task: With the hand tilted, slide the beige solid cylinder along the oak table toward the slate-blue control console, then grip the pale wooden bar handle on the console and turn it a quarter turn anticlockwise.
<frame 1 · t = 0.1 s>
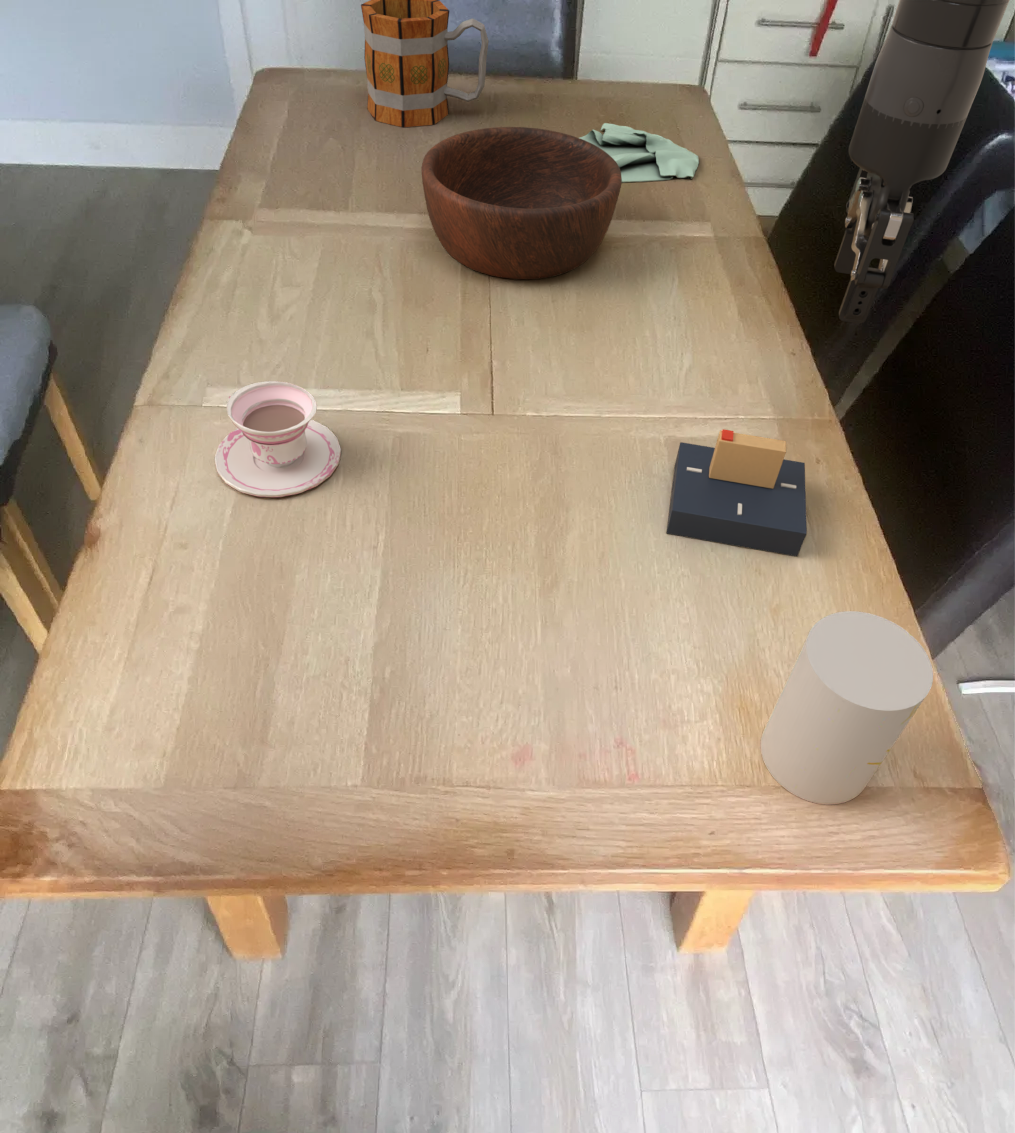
hand: (847, 295, 79), 18 cm above the table, tool pointing down, fingers open, 8 cm apart
beige solid cylinder: (814, 756, 68), on the table
wooden bowl: (517, 244, 120), on the table
cloth: (627, 155, 141), on the table
console: (733, 508, 86), on the table
mug: (426, 113, 149), on the table
teacup: (279, 459, 88), on the table
wooden handle: (747, 458, 83), point 5 cm above the table, hinge at 0.0°
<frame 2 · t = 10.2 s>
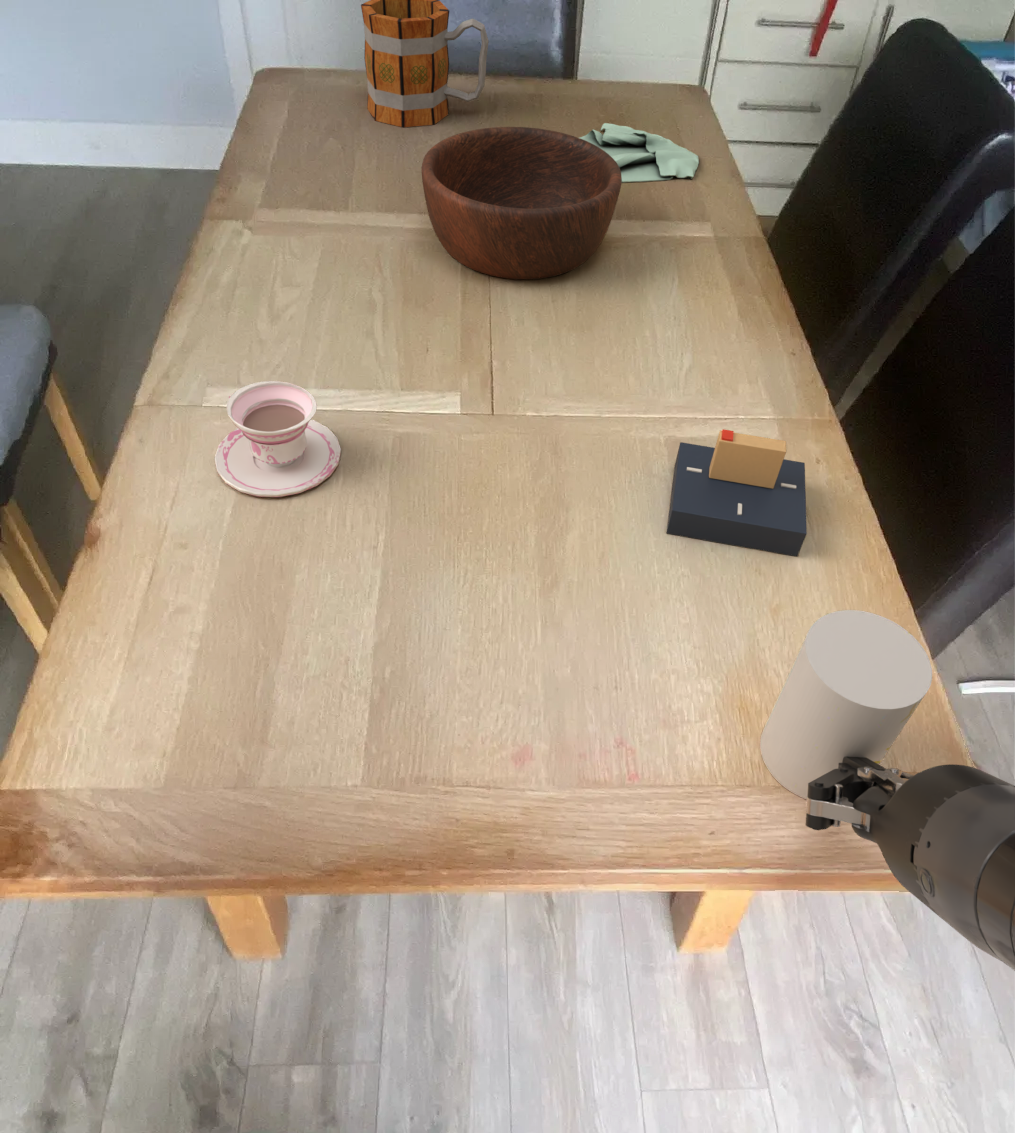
hand: (851, 771, 61), 5 cm above the table, tool tilted 45°, fingers closed
beige solid cylinder: (813, 755, 68), on the table, touching gripper
everything else where it was.
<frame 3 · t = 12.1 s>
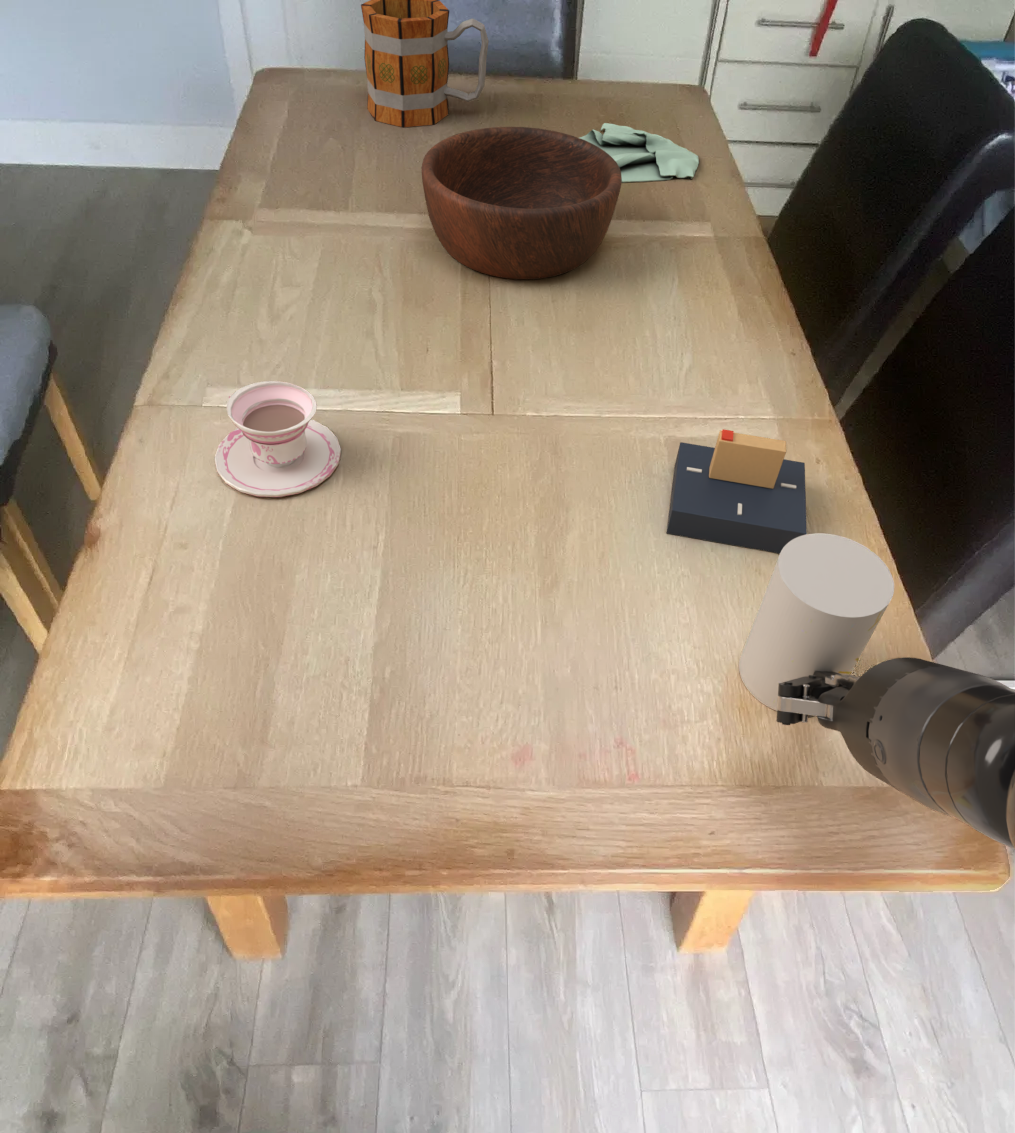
hand: (821, 685, 66), 5 cm above the table, tool tilted 45°, fingers closed
beige solid cylinder: (788, 675, 73), on the table, touching gripper
everything else where it was.
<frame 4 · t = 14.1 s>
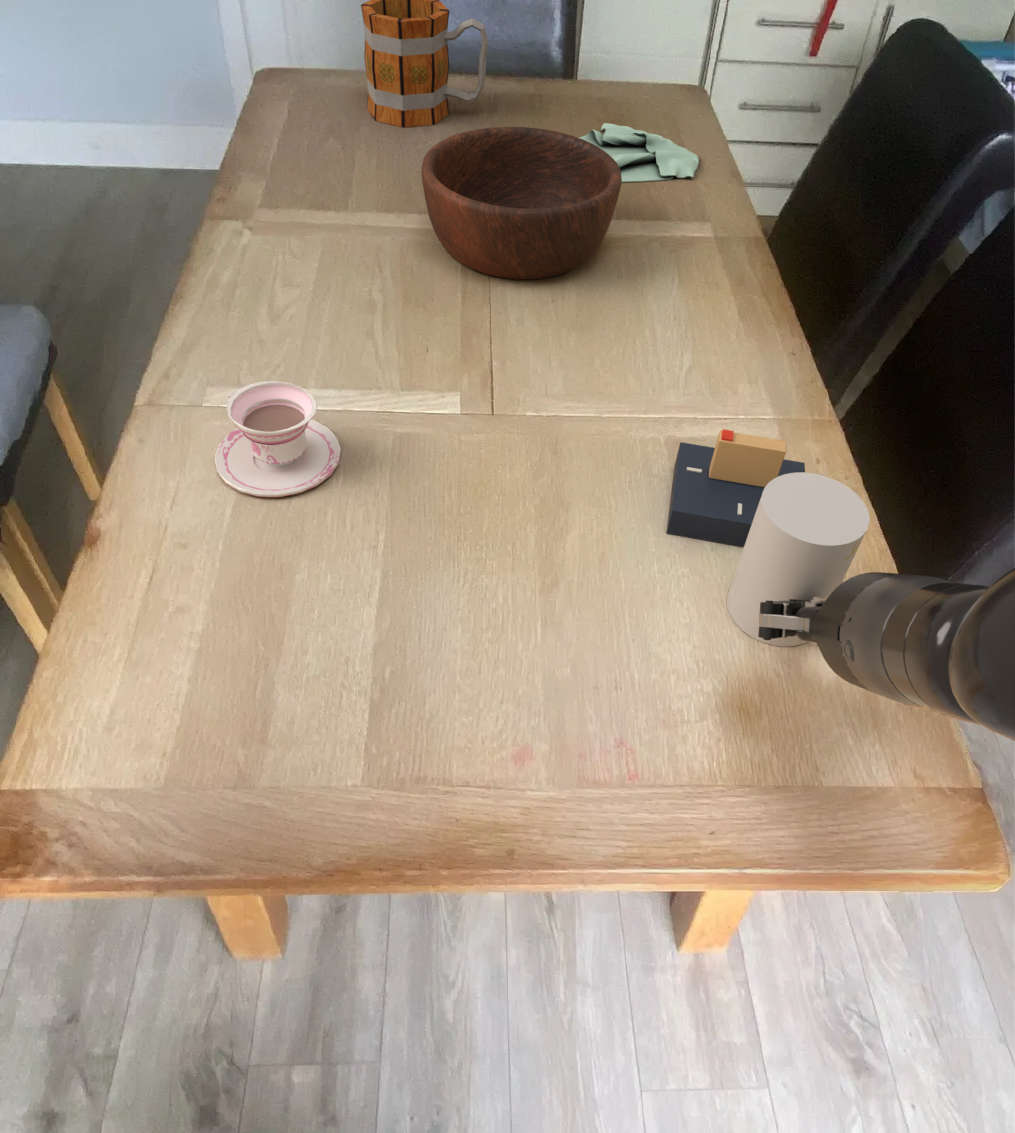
hand: (803, 614, 71), 5 cm above the table, tool tilted 45°, fingers closed
beige solid cylinder: (773, 610, 78), on the table, touching gripper
everything else where it was.
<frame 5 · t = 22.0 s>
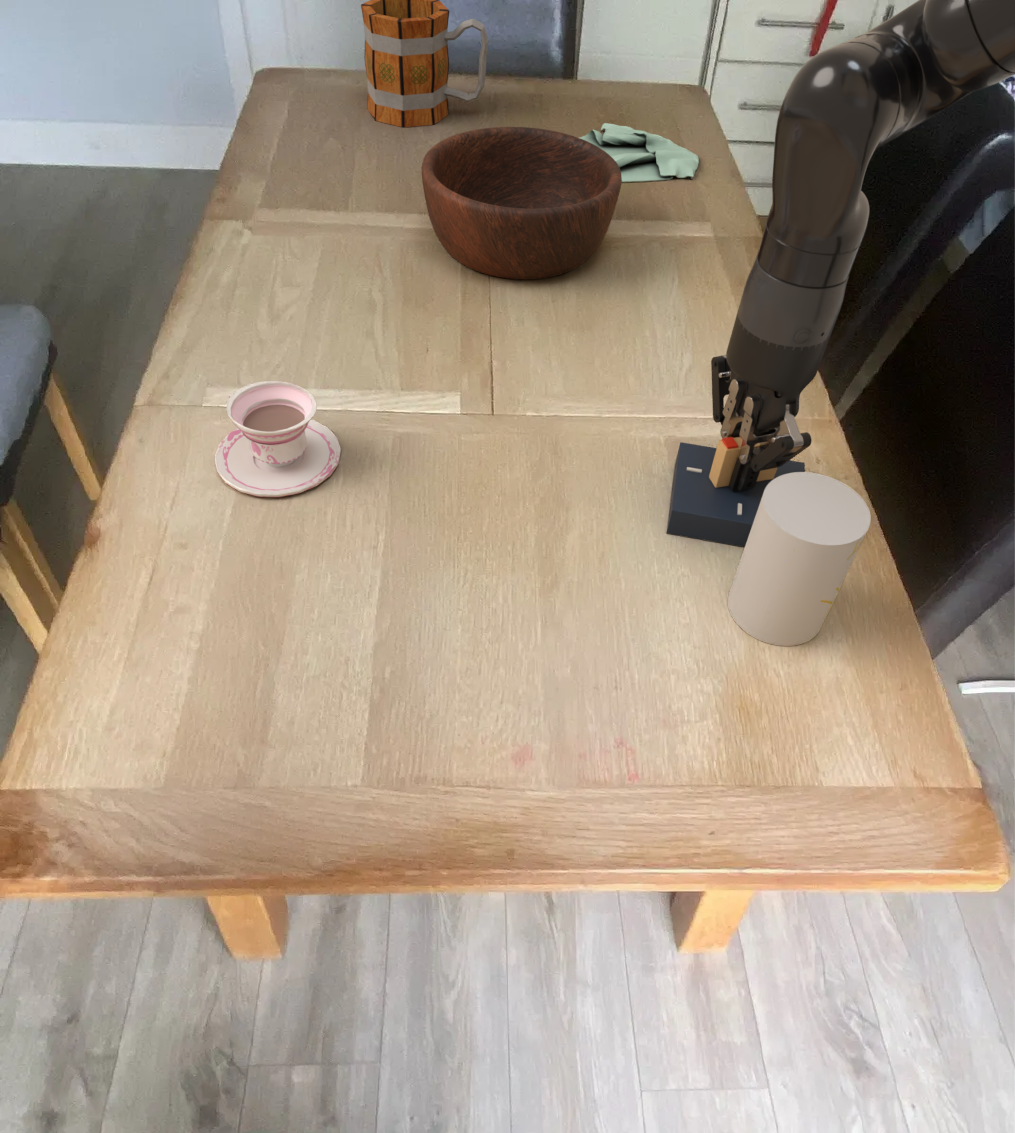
hand: (733, 479, 84), 3 cm above the table, tool pointing down, fingers closed
beige solid cylinder: (774, 610, 78), on the table
wooden handle: (747, 458, 83), point 5 cm above the table, hinge at 26.8°, touching gripper
everything else where it was.
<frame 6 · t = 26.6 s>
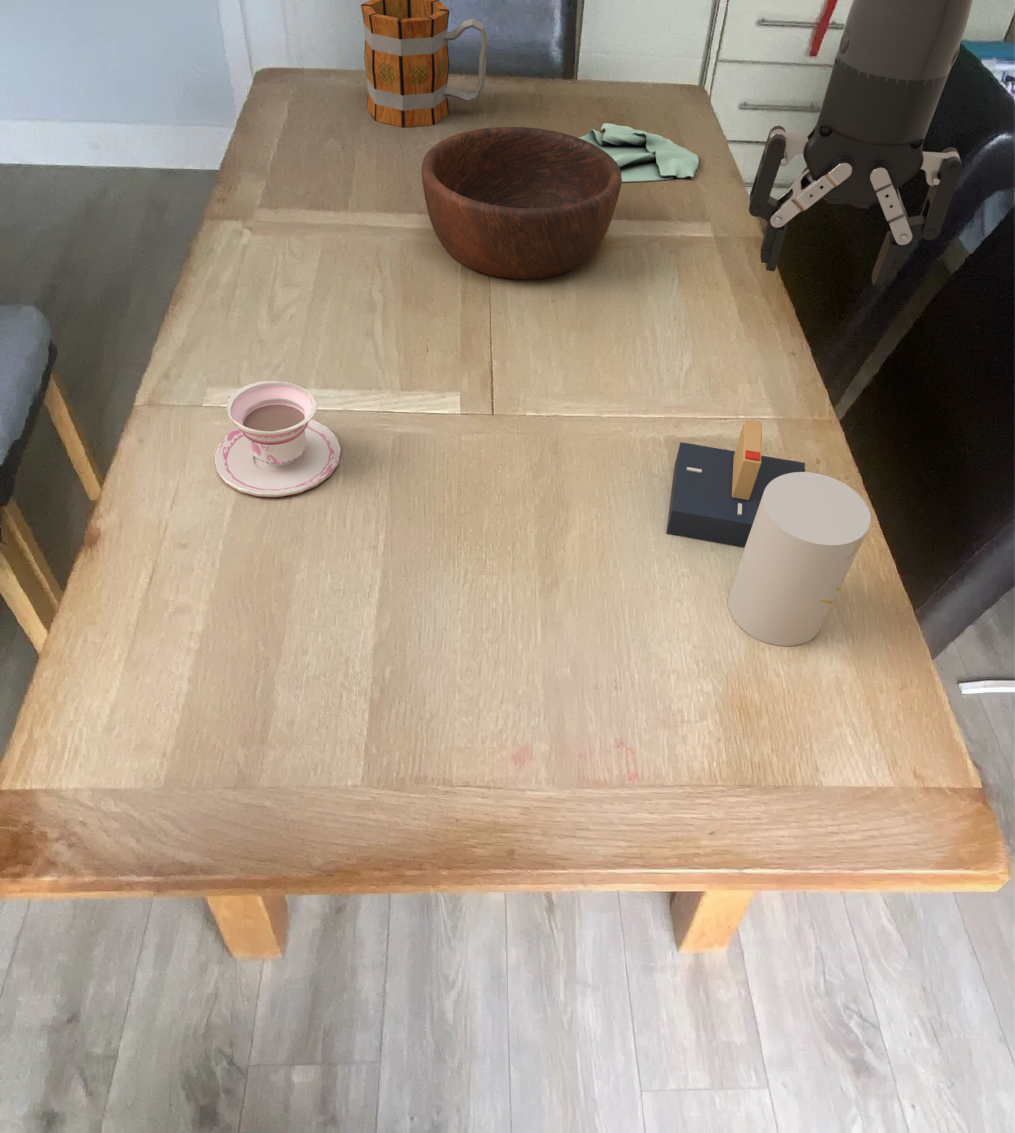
hand: (822, 274, 73), 22 cm above the table, tool pointing down, fingers open, 8 cm apart
wooden handle: (747, 458, 83), point 5 cm above the table, hinge at 90.2°
everything else where it was.
at the end: wooden handle at +90° (first picture: +0°); beige solid cylinder inside the target area on the table beside the console (1.7 cm from its centre), on the table; beige solid cylinder tilted 0° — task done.
